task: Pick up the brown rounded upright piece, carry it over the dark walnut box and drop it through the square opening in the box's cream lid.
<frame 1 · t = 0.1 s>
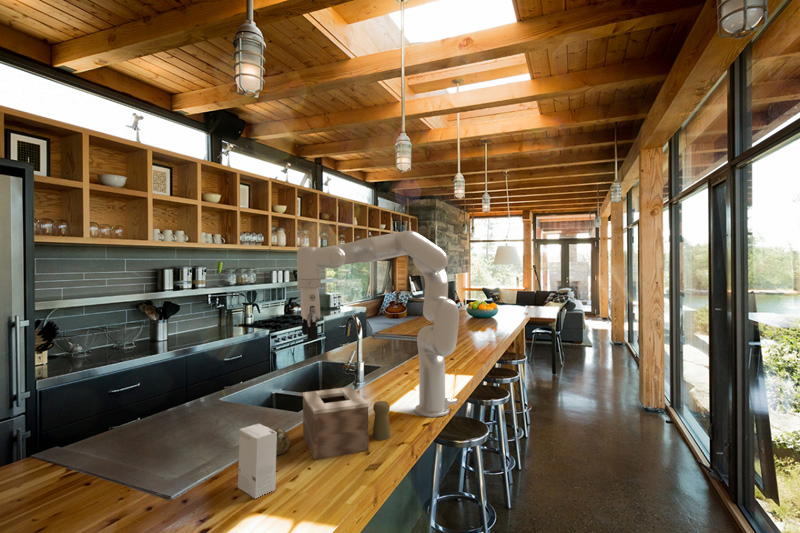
hand: (309, 336, 144), 31 cm above the countertop, tool pointing down, fingers open, 9 cm apart
brown rounded upright piece: (381, 437, 139), on the countertop
skincare box: (257, 490, 108), on the countertop
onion: (277, 453, 128), on the countertop
drop box: (334, 442, 134), on the countertop
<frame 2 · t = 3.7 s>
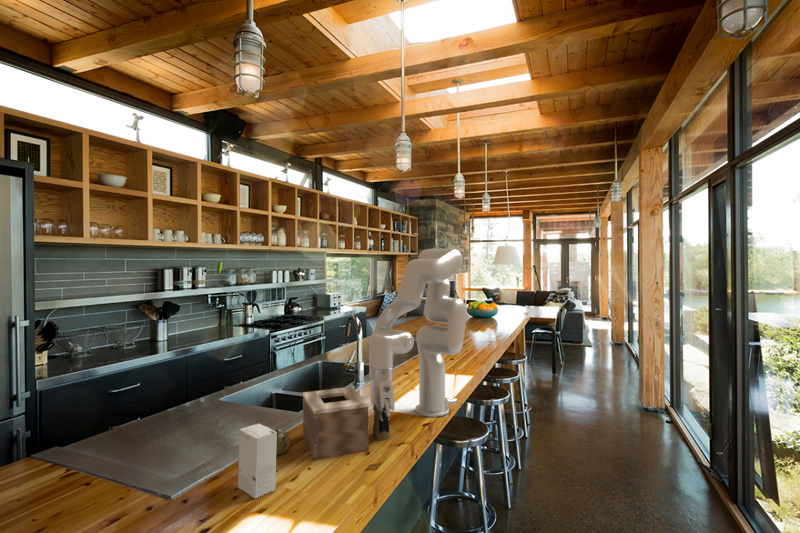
hand: (381, 429, 139), 2 cm above the countertop, tool pointing down, fingers closed on brown rounded upright piece, 4 cm apart
brown rounded upright piece: (381, 437, 139), on the countertop, touching gripper
everything else where it was.
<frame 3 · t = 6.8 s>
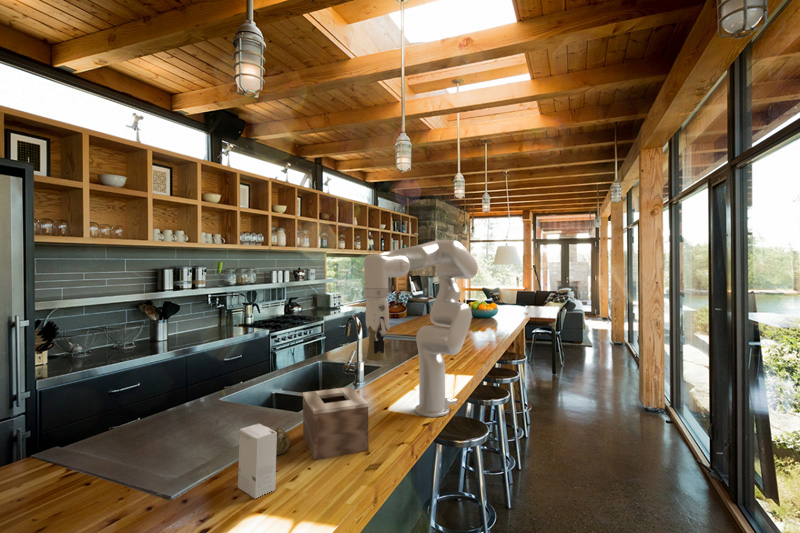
hand: (376, 351, 138), 27 cm above the countertop, tool pointing down, fingers closed on brown rounded upright piece, 4 cm apart
brown rounded upright piece: (376, 359, 138), point 25 cm above the countertop, touching gripper
everything else where it was.
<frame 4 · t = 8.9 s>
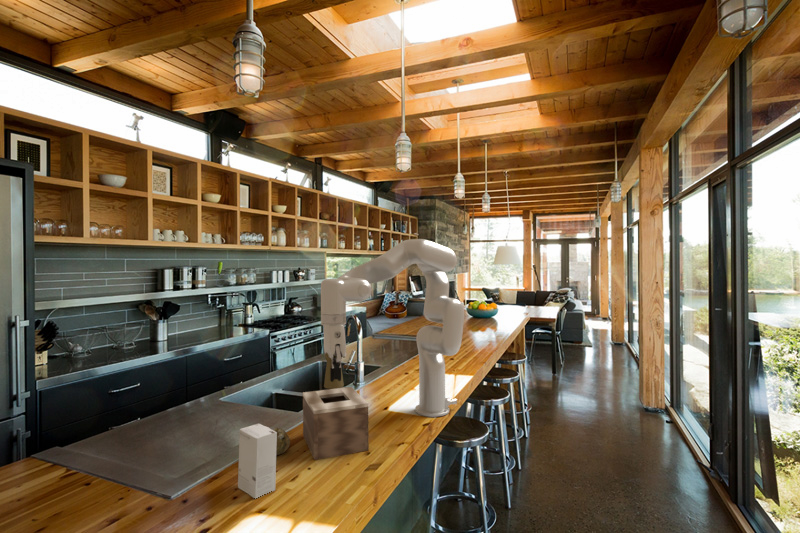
hand: (333, 378, 134), 20 cm above the countertop, tool pointing down, fingers closed on brown rounded upright piece, 4 cm apart
brown rounded upright piece: (333, 386, 134), point 17 cm above the countertop, touching gripper
everything else where it was.
when the fingers open (18 cm above the countertop, at t = 10.1 s): brown rounded upright piece drops 12 cm, resting on drop box.
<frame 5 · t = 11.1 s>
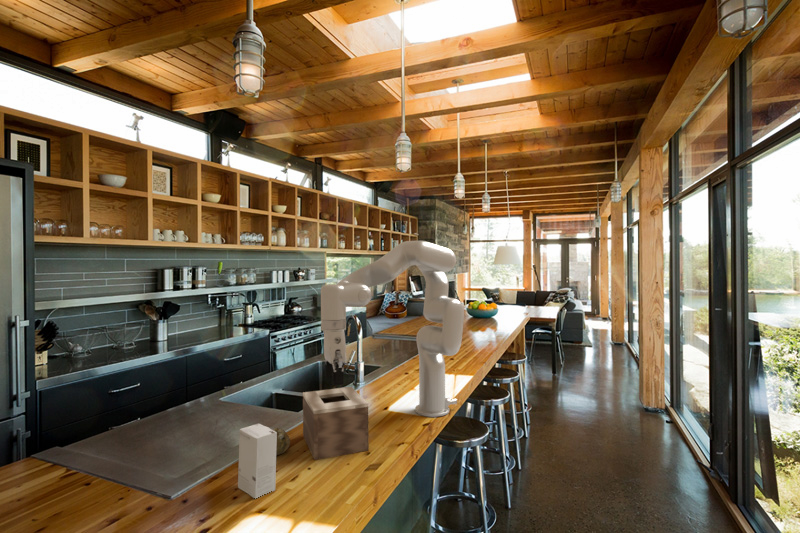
hand: (334, 380, 134), 19 cm above the countertop, tool pointing down, fingers open, 9 cm apart
brown rounded upright piece: (335, 437, 134), point 2 cm above the countertop, touching drop box
everything else where it was.
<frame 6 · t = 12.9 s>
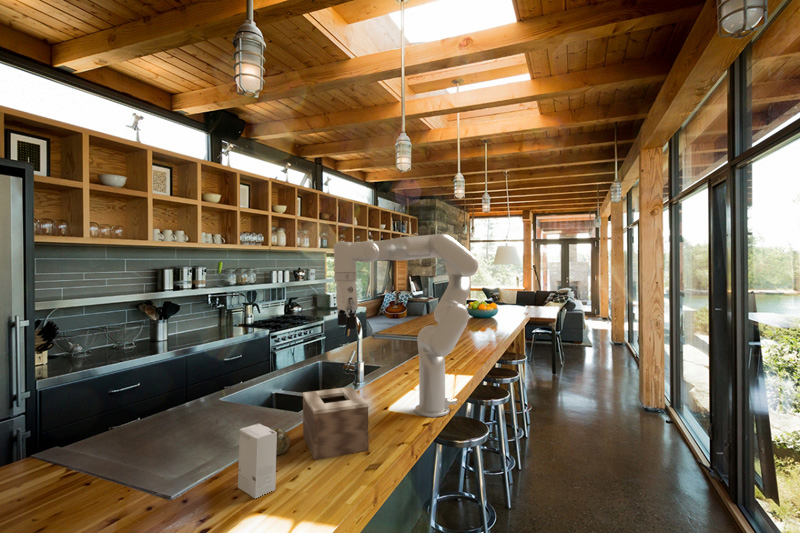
hand: (346, 326, 152), 33 cm above the countertop, tool pointing down, fingers open, 9 cm apart
nothing on the countertop moved.
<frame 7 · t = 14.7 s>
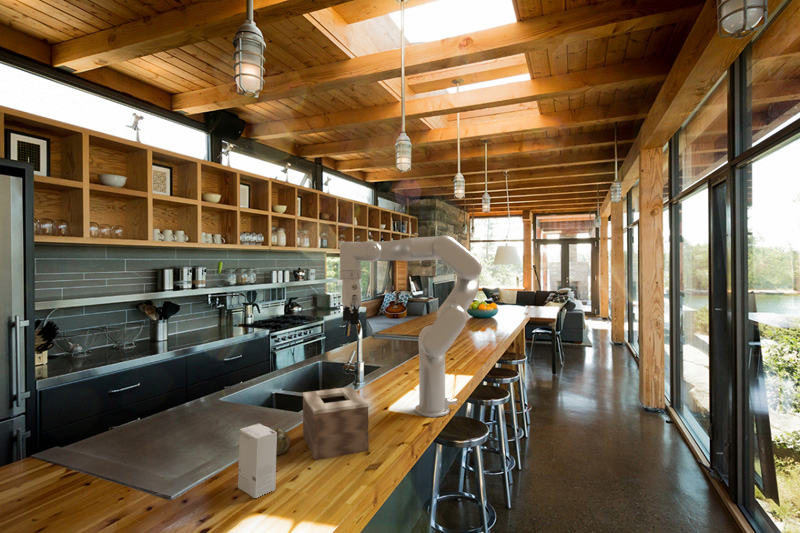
hand: (350, 322, 160), 33 cm above the countertop, tool pointing down, fingers open, 9 cm apart
nothing on the countertop moved.
at the end: brown rounded upright piece inside the target area on the drop box (0.8 cm from its centre), point 1.9 cm above the drop box's base; the gripper is holding nothing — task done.
